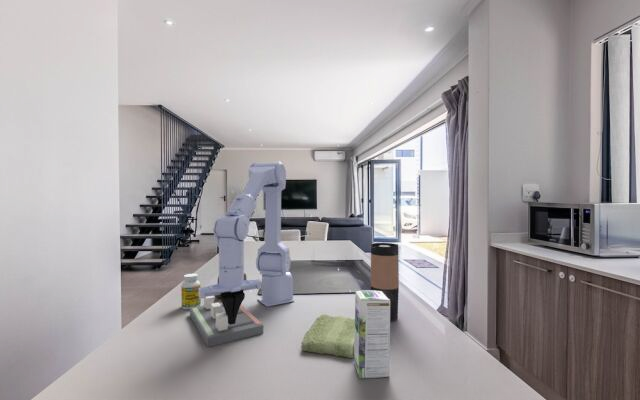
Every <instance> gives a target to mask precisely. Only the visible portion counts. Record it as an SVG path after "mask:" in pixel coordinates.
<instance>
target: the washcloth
mask: <svg viewBox="0 0 640 400" xmlns="http://www.w3.org/2000/svg"><path fill="white" fill-rule="evenodd" d="M354 336H355V318H350V317H346V316H342V315H340V316H338V315H337V316H333V315H332V316H331V315H328V314H325V313H324V314H321V315H320V316H318V317H317V318H316V319H315V321H314V322H313V323H312V325H311V326H310V328H309V329H308V330H307V331H306V333H305V334H304V336H303V339H302V341H301V345H300V347H301V351H304V352H307V353H308V352H309V353H310V352H311V353H314V354H320V355H323V354H327V355H333V356H336V357H342V358H346V359H347V358H348V359H354Z"/></svg>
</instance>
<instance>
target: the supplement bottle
mask: <svg viewBox="0 0 640 400" xmlns="http://www.w3.org/2000/svg"><path fill="white" fill-rule="evenodd" d="M201 286H202V285H201V281H200V280H199V274H198V273H187V274H184V275H183V282H182V283H181V287H180V288H181V291H180V292H181V308H182V309H183V310H190V308H192V307H198V306H202V305H201V304H202V303H201V302H202V301H201V300H202V299H200V298H199V288H202V287H201Z"/></svg>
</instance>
